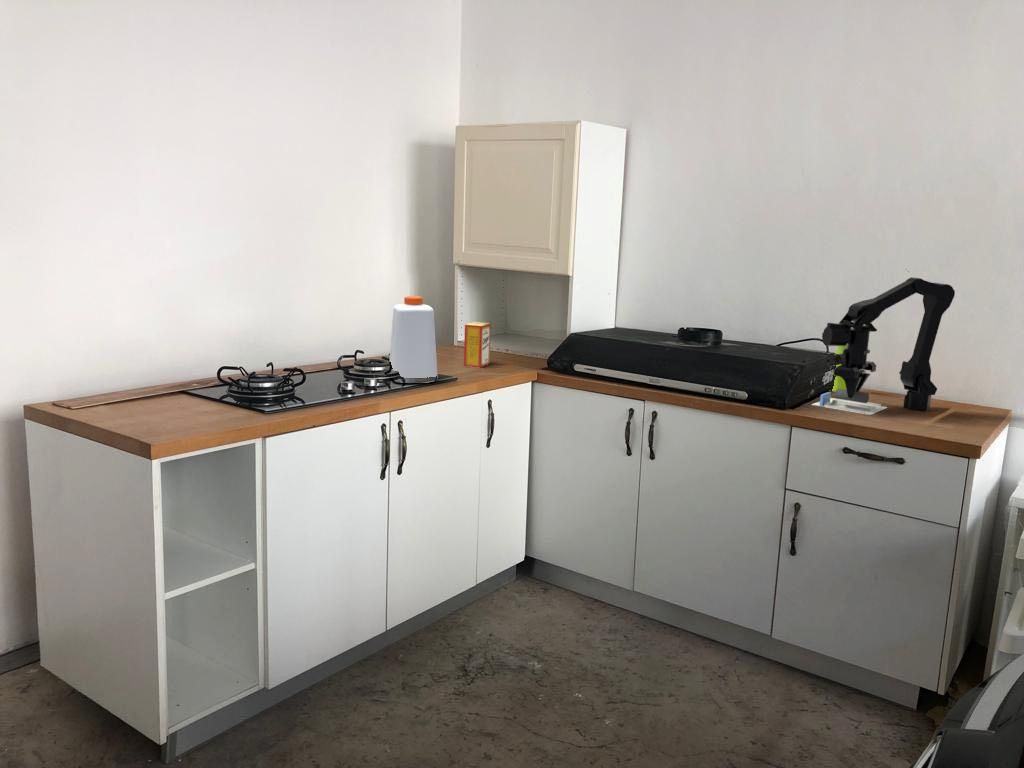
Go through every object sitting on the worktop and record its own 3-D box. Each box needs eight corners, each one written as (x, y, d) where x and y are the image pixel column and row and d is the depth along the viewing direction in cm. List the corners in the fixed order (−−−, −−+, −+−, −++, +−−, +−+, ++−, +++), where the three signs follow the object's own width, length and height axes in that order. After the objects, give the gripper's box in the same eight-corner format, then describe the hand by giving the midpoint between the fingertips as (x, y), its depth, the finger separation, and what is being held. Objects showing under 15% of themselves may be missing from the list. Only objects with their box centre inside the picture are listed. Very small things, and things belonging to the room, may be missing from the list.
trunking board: (887, 410, 264) (889, 396, 263) (870, 418, 253) (871, 403, 252) (830, 400, 276) (831, 387, 275) (810, 407, 265) (812, 393, 264)
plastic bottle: (430, 375, 298) (431, 294, 292) (439, 383, 284) (441, 299, 278) (386, 376, 293) (386, 294, 288) (394, 385, 279) (394, 299, 274)
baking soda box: (480, 368, 314) (481, 325, 311) (464, 366, 316) (464, 323, 313) (489, 364, 323) (490, 322, 320) (473, 362, 325) (474, 320, 322)
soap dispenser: (851, 395, 285) (858, 336, 282) (829, 394, 287) (835, 334, 283) (848, 392, 291) (854, 333, 287) (827, 390, 292) (833, 332, 288)
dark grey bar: (868, 402, 258) (869, 392, 257) (864, 404, 255) (865, 394, 255) (838, 397, 263) (839, 388, 263) (834, 399, 261) (835, 389, 261)
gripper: (842, 339, 268) (837, 388, 271) (818, 345, 254) (813, 396, 258) (879, 344, 261) (873, 394, 264) (856, 350, 247) (850, 403, 250)
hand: (852, 397), depth 259 cm, fingers closed on dark grey bar, 3 cm apart
